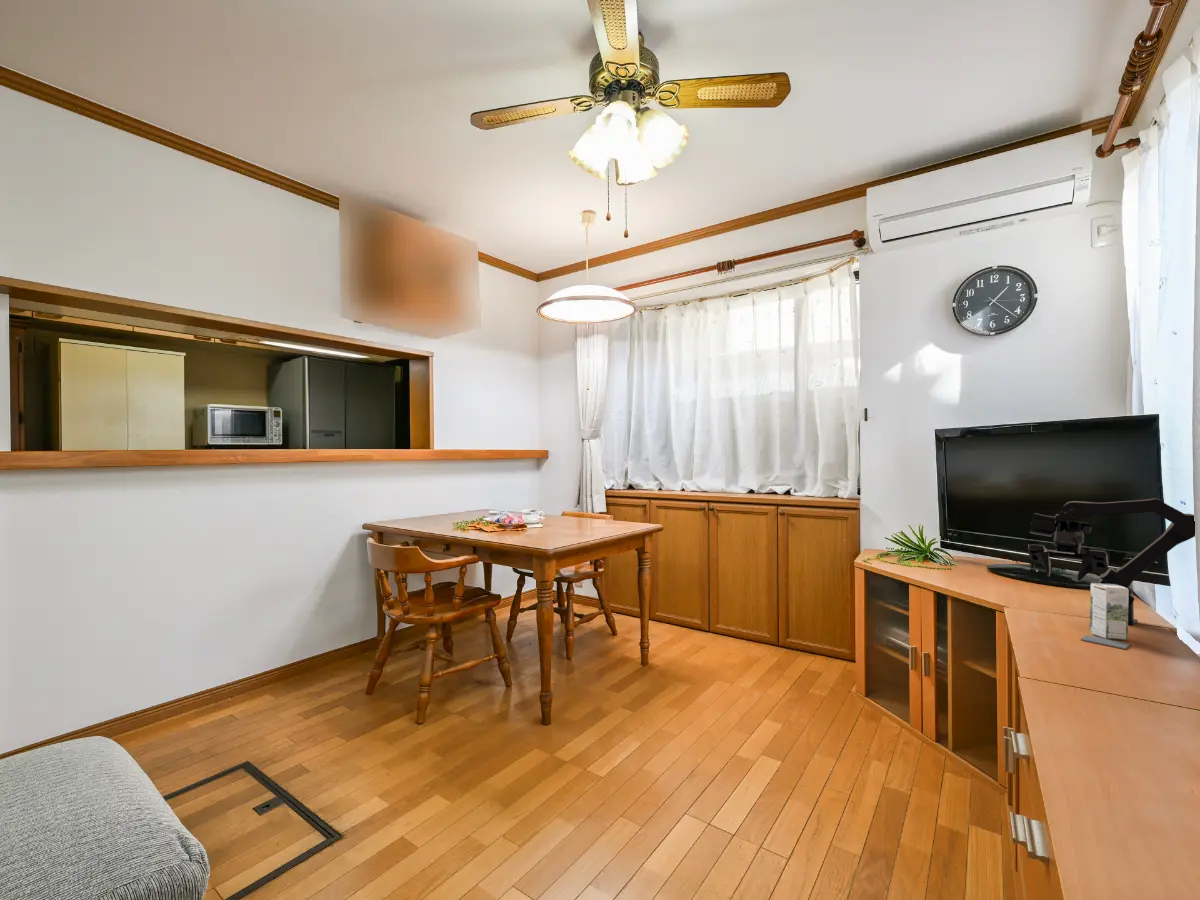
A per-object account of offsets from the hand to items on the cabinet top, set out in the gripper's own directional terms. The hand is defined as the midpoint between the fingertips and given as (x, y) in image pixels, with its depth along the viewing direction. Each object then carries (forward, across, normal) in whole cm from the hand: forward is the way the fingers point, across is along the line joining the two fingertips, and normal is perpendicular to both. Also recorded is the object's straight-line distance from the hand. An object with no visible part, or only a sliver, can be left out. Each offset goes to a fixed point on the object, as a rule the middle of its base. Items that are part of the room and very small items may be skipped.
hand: (1063, 577), depth 166 cm
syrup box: (+16, +11, +4) cm, 20 cm away
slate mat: (+20, +11, -1) cm, 23 cm away
